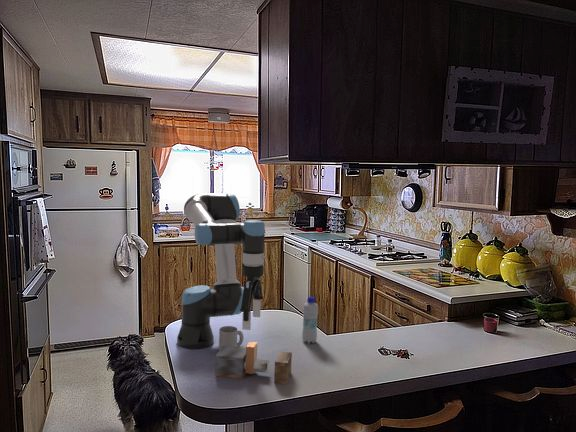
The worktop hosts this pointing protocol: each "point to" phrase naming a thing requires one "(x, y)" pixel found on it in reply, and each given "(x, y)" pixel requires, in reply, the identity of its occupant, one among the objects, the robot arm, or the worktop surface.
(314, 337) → the bottle
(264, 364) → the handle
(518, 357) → the worktop surface
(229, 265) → the robot arm
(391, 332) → the worktop surface
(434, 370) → the worktop surface
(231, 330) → the cup
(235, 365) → the sleeve and socket
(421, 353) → the worktop surface
